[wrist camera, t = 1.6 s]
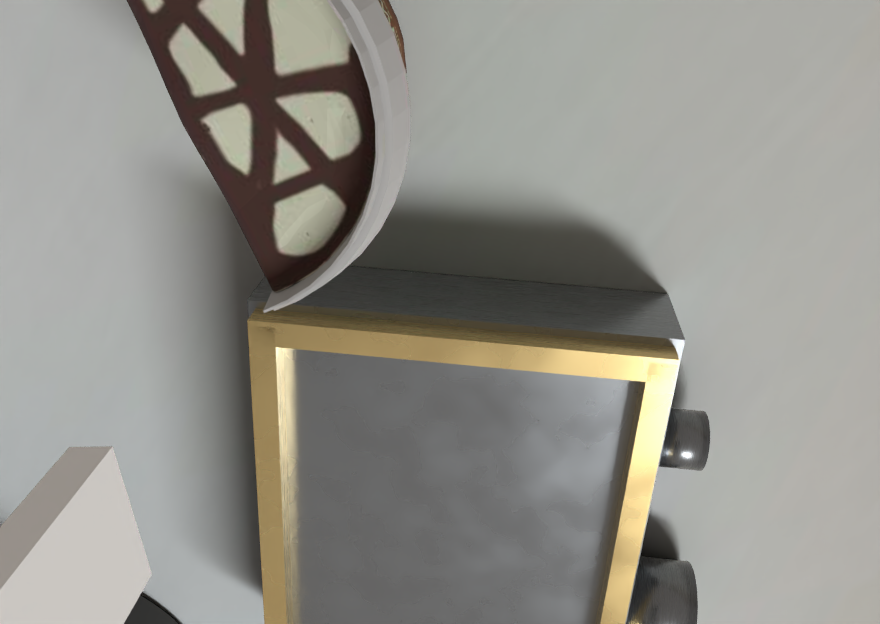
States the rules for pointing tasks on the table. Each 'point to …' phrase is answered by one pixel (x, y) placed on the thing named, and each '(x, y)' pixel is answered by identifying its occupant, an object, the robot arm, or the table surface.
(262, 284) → the grey flat box
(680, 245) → the table surface
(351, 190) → the food container
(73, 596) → the robot arm
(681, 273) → the table surface
